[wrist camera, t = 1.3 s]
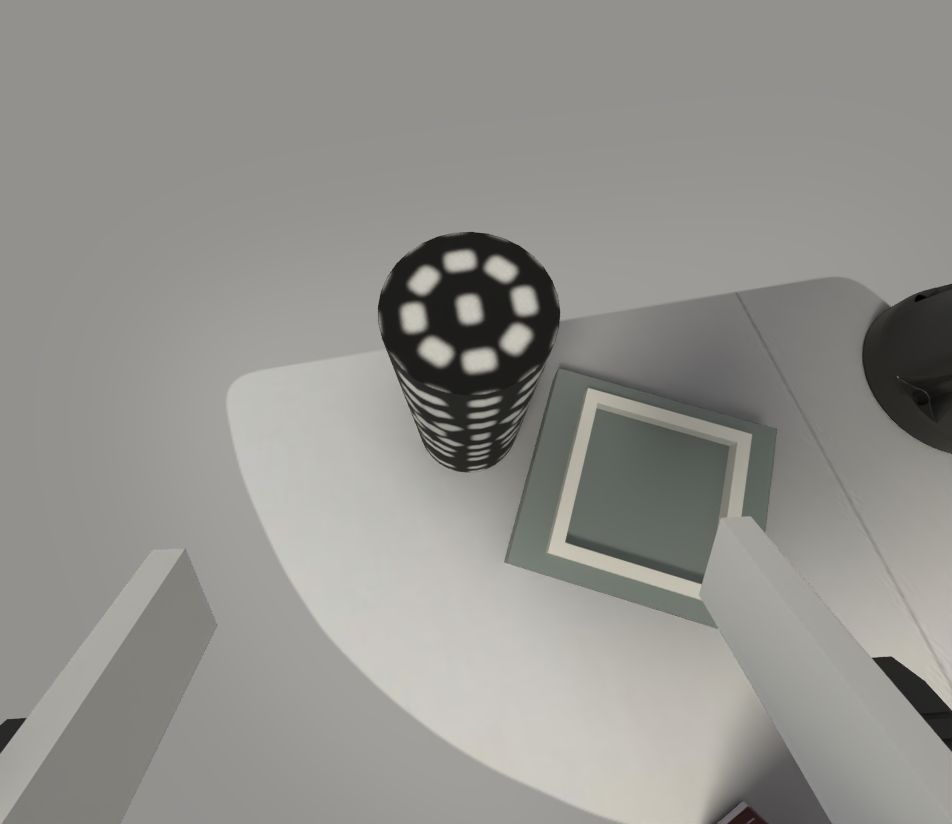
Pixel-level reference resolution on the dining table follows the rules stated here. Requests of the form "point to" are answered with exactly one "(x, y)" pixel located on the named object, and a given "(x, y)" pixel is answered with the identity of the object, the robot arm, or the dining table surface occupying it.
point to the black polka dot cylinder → (468, 342)
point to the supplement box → (742, 816)
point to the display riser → (636, 492)
